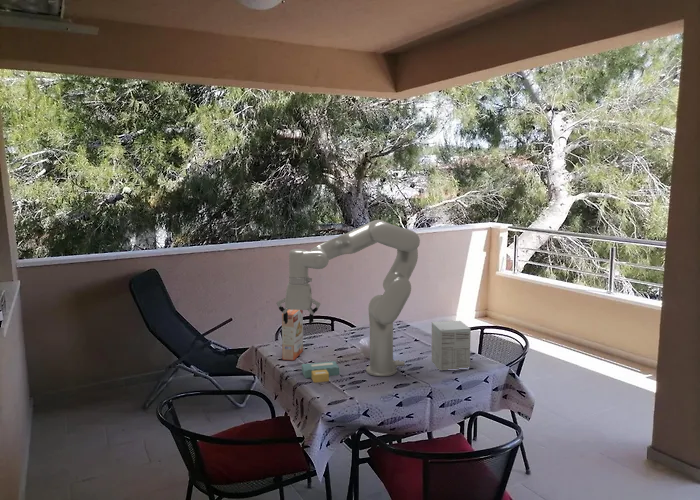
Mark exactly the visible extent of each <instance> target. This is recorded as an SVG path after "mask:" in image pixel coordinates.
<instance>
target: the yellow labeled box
mask: <svg viewBox="0 0 700 500" xmlns="http://www.w3.org/2000/svg"><path fill="white" fill-rule="evenodd" d="M311 373H312V378H311V380H312V382H313V383H314V384H316V383H324V382H330V376H329V373H328V371H327V370H316V371H311Z"/></svg>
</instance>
